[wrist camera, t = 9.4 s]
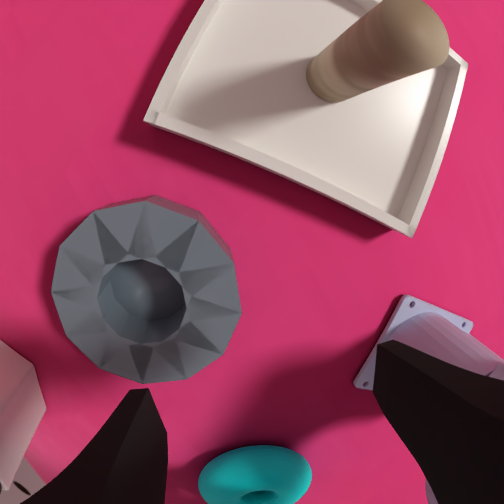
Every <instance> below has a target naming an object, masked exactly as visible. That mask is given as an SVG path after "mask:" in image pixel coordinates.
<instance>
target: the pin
mask: <svg viewBox="0 0 504 504" xmlns="http://www.w3.org/2000/svg"><path fill="white" fill-rule="evenodd" d="M448 54H449V38H448V34H447V31H446V29H445V27H444V25H443V23H442V21H441V19H440V18H439V17H438V15H437V14H436V13H435V12H434V11H433V9H432V8H431V7H429V6H428V5H427V4H426V3H425V2H423V1H422V0H382V1H381V2H380V3H379V4H377V5H376V6H375V7H374V8H372V9H371V10H370V11H369V12H367V13H366V14H365V15H364V16H362V17H361V18H360V19H359V20H358V21H356V22H355V23H354V24H353V25H352V26H350V27H349V28H348V29H347V30H346V31H344V32H343V33H342V34H341V35H340V36H339V37H337V38H336V39H335V40H334V41H333V42H332V43H331V44H329V45H328V46H327V47H326V48H325V49H324V50H323V51H321V52H320V53H319V54H318V55H317V56H316V57H315V58H314V59H313V60H312V61H311V62H310V63H309V65H308V67H307V70H306V79H307V83H308V85H309V87H310V89H311V90H312V92H313V93H314V94H315V95H316V96H317V97H319V98H320V99H322V100H324V101H327V102H331V103H338V102H342V101H345V100H347V99H350V98H352V97H355V96H357V95H360V94H362V93H365V92H367V91H370V90H373V89H375V88H378V87H380V86H383V85H386V84H389V83H391V82H394V81H397V80H400V79H402V78H405V77H408V76H411V75H414V74H417V73H420V72H423V71H426V70H429V69H432V68H435V67H438V66H440V65H442V64H443V63H444V62H445V61H446V59H447V57H448Z"/></svg>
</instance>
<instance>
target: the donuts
mask: <svg viewBox="0 0 504 504" xmlns="http://www.w3.org/2000/svg"><path fill="white" fill-rule="evenodd" d="M311 479H312V472H311V468H310V465H309V463H308V462H307V461H306V459H305V458H304V457H303V456H302V455H300V454H299V453H297V452H295V451H293V450H291V449H288V448H284V447H280V446H274V445H254V446H246V447H241V448H237V449H234V450H231V451H228V452H225V453H223V454H221V455H219V456H217V457H216V458H214V459H213V460H211V461H210V462H209V463H208V464H207V465H206V466H205V467H204V468H203V470H202V471H201V473H200V476H199V479H198V488H199V492H200V494H201V496H202V497H203V499H204V500H205V501H206V502H207V503H208V504H294V503H295V502H296V501H298V500H299V499H300V498H301V497H302V496H303V495H304V494H305V493H306V491H307V489H308V488H309V486H310V483H311Z"/></svg>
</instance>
